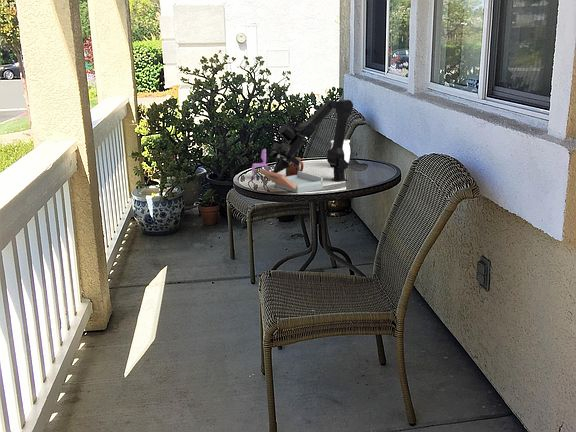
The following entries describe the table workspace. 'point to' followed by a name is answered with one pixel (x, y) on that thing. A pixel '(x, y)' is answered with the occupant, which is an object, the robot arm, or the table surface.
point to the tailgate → (277, 178)
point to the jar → (345, 149)
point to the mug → (294, 168)
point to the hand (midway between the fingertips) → (274, 173)
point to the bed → (303, 182)
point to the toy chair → (260, 163)
